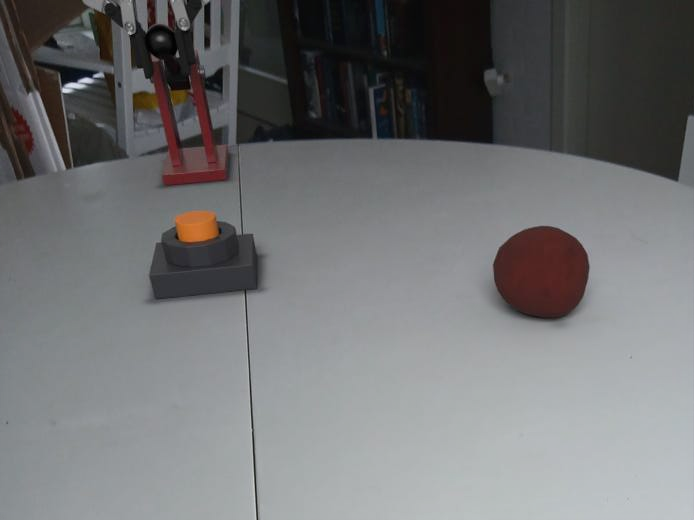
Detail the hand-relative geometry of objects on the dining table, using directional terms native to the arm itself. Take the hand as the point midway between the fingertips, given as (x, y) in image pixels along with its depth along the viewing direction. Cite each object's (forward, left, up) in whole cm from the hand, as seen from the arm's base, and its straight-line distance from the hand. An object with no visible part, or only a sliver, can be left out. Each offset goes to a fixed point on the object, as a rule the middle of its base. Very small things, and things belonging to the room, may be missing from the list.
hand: (168, 72), depth 103 cm
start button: (+3, -26, -8) cm, 28 cm away
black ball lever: (0, +3, -1) cm, 3 cm away
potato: (+30, -41, -12) cm, 53 cm away
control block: (+2, -26, -12) cm, 29 cm away
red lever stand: (0, +8, -12) cm, 14 cm away
